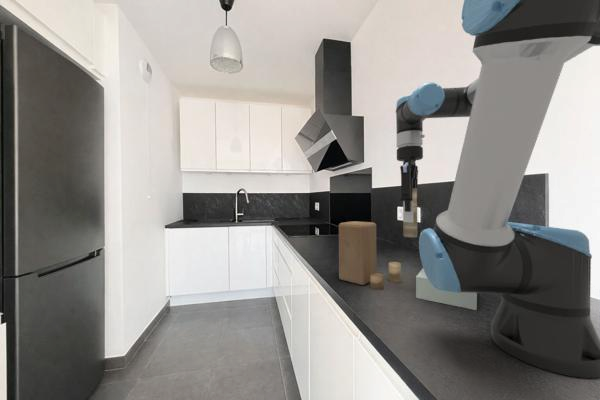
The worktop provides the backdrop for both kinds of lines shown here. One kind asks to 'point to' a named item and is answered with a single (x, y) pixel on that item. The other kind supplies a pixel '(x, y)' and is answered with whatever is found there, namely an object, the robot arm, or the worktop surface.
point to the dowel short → (376, 281)
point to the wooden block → (357, 251)
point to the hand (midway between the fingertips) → (410, 221)
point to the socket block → (443, 294)
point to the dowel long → (411, 228)
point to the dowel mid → (395, 272)
